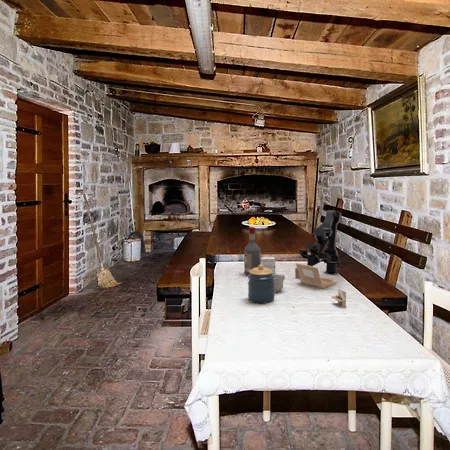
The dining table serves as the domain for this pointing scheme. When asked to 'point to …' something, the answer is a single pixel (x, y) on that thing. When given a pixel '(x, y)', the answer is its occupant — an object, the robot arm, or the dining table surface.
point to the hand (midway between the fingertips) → (307, 268)
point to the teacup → (278, 282)
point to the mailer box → (324, 284)
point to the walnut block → (297, 274)
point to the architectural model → (340, 298)
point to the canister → (261, 285)
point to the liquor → (251, 253)
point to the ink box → (269, 263)
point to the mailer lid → (309, 273)
